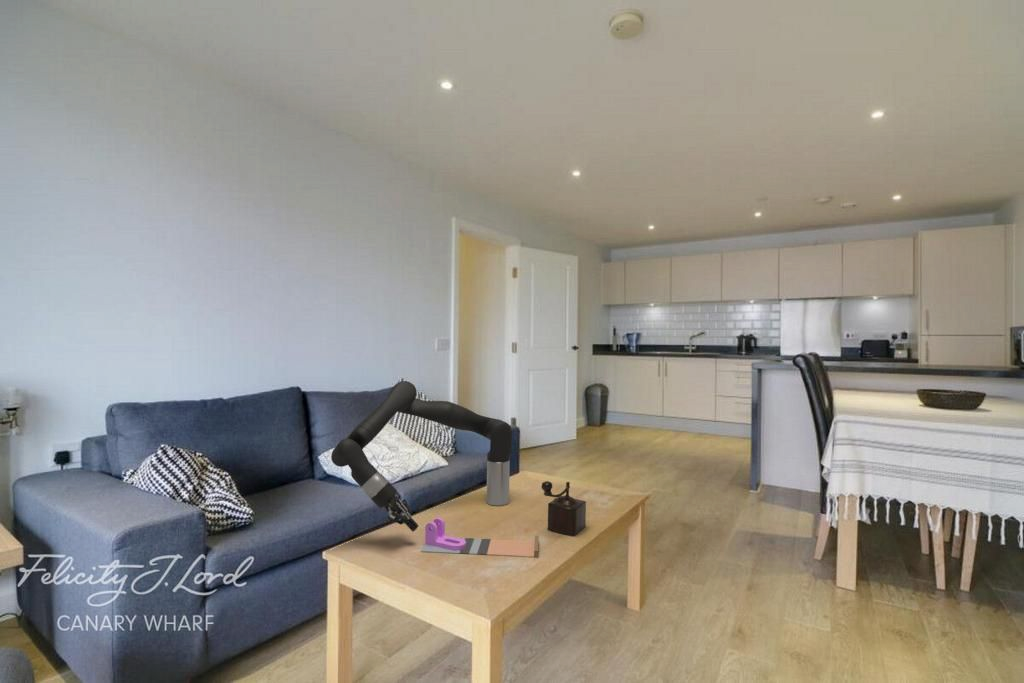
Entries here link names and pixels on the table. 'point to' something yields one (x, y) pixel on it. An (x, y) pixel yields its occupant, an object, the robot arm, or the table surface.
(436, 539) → the bracket
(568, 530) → the manual coffee grinder
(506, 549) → the lane
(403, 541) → the table surface
